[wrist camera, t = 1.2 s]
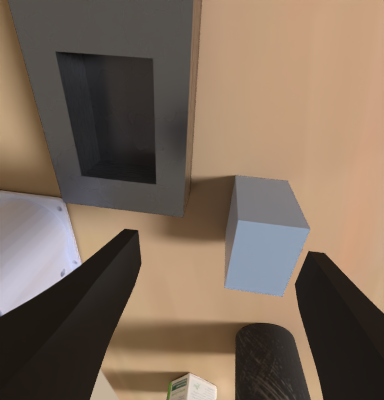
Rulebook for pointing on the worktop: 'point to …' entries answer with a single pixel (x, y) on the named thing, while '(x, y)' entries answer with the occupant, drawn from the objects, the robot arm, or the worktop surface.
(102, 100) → the grey slotted block
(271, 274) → the plug
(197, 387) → the syrup box
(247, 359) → the travel mug
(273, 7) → the worktop surface
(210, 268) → the worktop surface
